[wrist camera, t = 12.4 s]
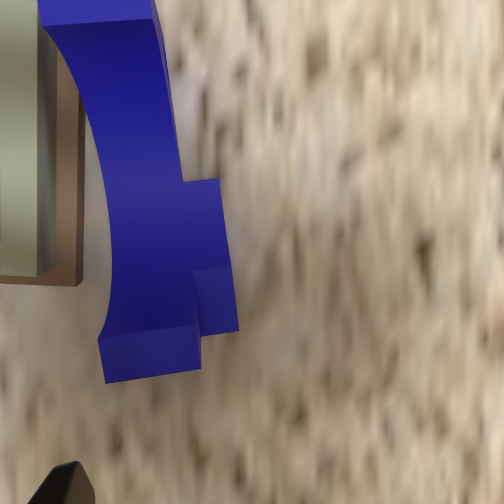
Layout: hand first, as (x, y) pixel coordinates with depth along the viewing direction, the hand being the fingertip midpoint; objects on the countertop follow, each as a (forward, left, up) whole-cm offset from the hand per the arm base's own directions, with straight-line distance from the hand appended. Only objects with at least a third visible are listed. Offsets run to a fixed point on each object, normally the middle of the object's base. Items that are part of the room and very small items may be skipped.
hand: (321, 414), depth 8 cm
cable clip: (+4, +4, -12) cm, 13 cm away
